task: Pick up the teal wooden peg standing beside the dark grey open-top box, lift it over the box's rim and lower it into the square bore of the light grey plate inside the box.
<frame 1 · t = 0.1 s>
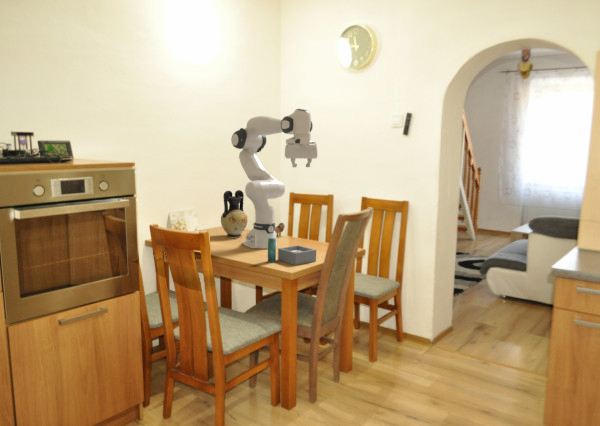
hand: (301, 167, 245), 48 cm above the table, tool pointing down, fingers open, 8 cm apart
box: (296, 260, 242), on the table
peg: (271, 261, 239), on the table
lion figurine: (275, 237, 305), on the table
amphora: (234, 236, 301), on the table
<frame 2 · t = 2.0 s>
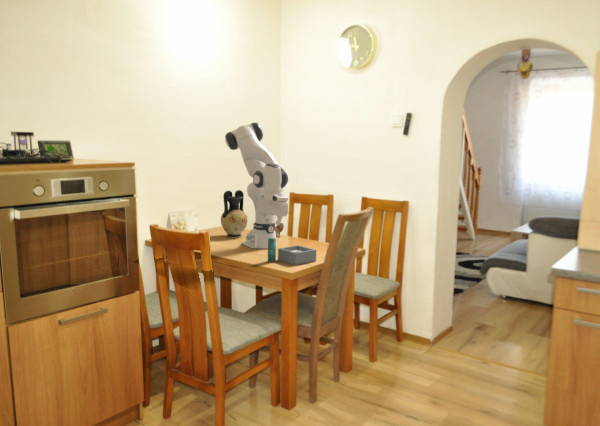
hand: (272, 223, 236), 20 cm above the table, tool pointing down, fingers open, 8 cm apart
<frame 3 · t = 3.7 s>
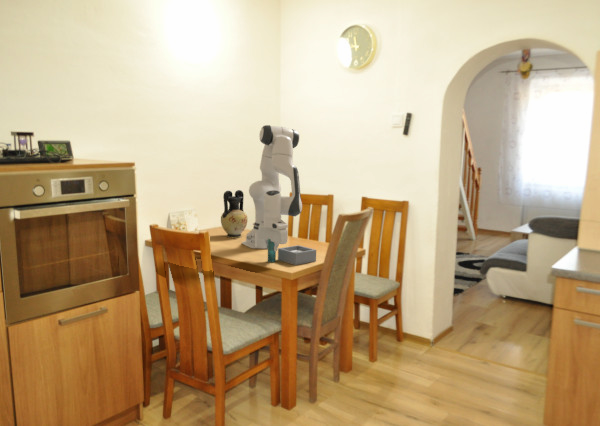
hand: (271, 249, 238), 6 cm above the table, tool pointing down, fingers closed on peg, 4 cm apart
peg: (271, 261, 239), on the table, touching gripper
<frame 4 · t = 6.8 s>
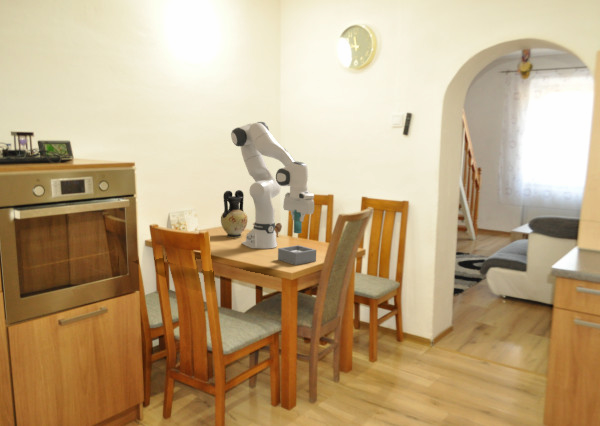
hand: (297, 220, 239), 21 cm above the table, tool pointing down, fingers closed on peg, 4 cm apart
peg: (297, 232, 240), point 15 cm above the table, touching gripper
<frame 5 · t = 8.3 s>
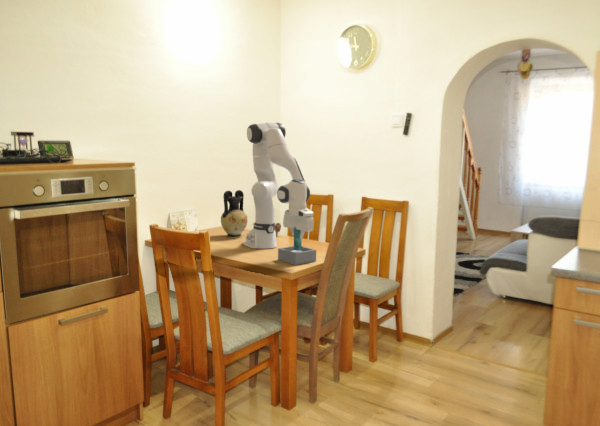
hand: (297, 237, 240), 12 cm above the table, tool pointing down, fingers closed on peg, 4 cm apart
peg: (297, 249, 241), point 6 cm above the table, touching gripper
when the fingers open (9 cm above the table, at t = 9.7 s): peg drops 1 cm, resting on box.
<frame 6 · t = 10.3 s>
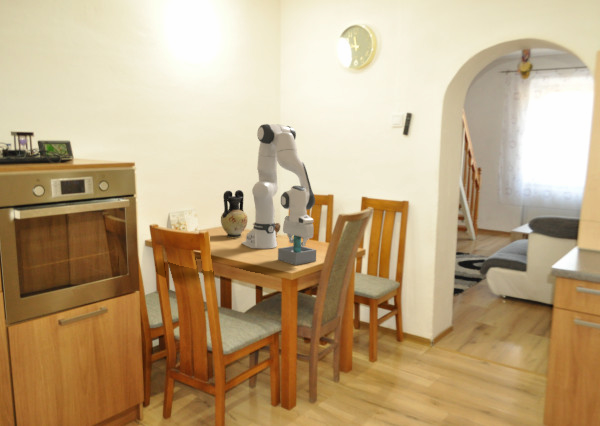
hand: (297, 244, 241), 9 cm above the table, tool pointing down, fingers open, 8 cm apart
peg: (297, 258, 242), point 1 cm above the table, touching box
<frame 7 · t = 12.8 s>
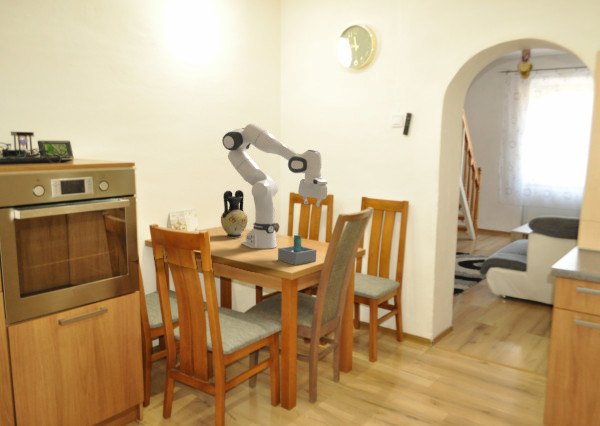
hand: (311, 205, 256), 27 cm above the table, tool pointing down, fingers open, 8 cm apart
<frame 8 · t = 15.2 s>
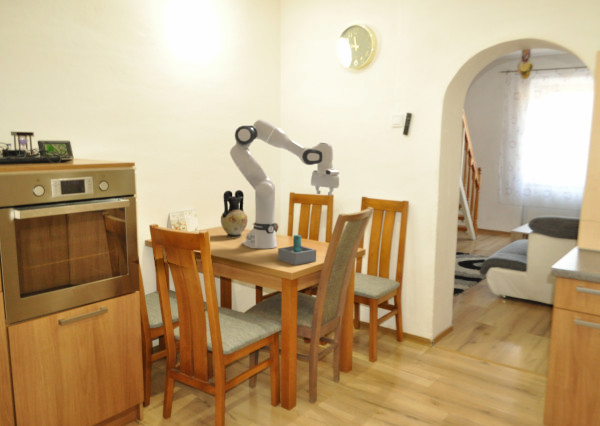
hand: (324, 194, 274), 31 cm above the table, tool pointing down, fingers open, 8 cm apart
at the end: peg 0.1 cm off-centre on the box, point 1.0 cm above the box's base; peg tilted 1°; the gripper is holding nothing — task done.
